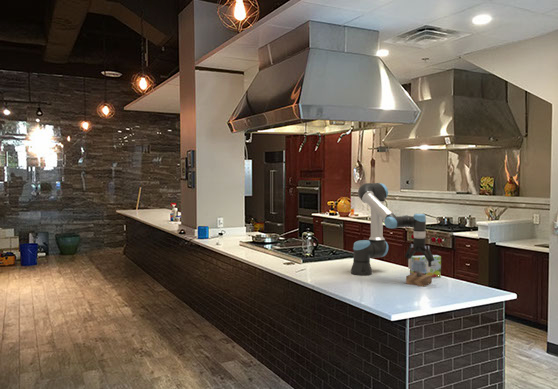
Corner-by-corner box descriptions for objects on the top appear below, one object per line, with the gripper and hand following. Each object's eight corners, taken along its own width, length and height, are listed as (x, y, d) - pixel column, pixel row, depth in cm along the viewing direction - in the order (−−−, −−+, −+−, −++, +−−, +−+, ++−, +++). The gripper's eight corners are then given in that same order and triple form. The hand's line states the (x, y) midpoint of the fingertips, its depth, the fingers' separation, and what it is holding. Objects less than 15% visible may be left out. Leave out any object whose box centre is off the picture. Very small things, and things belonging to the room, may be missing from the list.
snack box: (413, 279, 330) (414, 257, 330) (409, 277, 336) (409, 255, 335) (441, 277, 336) (441, 255, 335) (436, 275, 341) (436, 254, 341)
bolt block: (406, 283, 316) (406, 263, 316) (414, 280, 325) (414, 261, 325) (423, 286, 308) (423, 266, 308) (431, 283, 317) (431, 263, 317)
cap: (422, 269, 320) (422, 260, 320) (425, 271, 313) (426, 262, 313) (412, 269, 320) (412, 260, 320) (415, 271, 313) (415, 262, 313)
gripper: (399, 236, 322) (399, 268, 323) (433, 240, 304) (433, 273, 305) (406, 235, 327) (405, 266, 328) (440, 239, 309) (439, 272, 309)
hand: (419, 270), depth 316 cm, fingers open, 13 cm apart
